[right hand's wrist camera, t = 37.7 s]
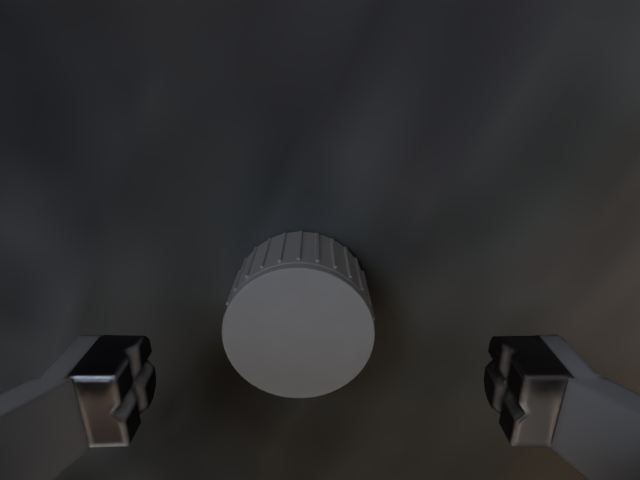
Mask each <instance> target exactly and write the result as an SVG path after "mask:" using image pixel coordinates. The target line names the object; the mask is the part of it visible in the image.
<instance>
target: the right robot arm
mask: <svg viewBox="0 0 640 480" xmlns="http://www.w3.org/2000/svg"><path fill="white" fill-rule="evenodd" d="M151 352H152V350H151V345H150V340H149V339H148V338H147V337H146V336H128V335H82V336H79V337H77V338H76V340H75V341H74V342H73V343H72V344H71V345H70V346H69V347H68V348H67V349H66V350H65V351H64V353H63V354H62V355H61V356H60V357H59V358H58V359H57V360H56V361H55V362H54V363H53V365H52V366H51V367H50V368H49V369H48V370H47V371H46V372H45V373H44V374H43V375H42V377H41V378H33V379H31V380H28V381H26V382H24V383H22V384H20V385H18V386H16V387H14V388H12V389H10V390H8V391H6V392H4V393H2V394H0V480H53V479H54V478H55V477H56V476H58V475H59V474H60V473H61V472H62V471H64V470H65V469H66V468H67V467H68V466H70V465H71V464H72V463H73V462H74V461H76V460H77V459H78V458H79V457H81V456H82V455H83V454H84V453H85V452H87V451H88V450H89V447H110V446H129V445H130V443H131V441H132V439H133V437H134V435H135V433H136V431H137V429H138V427H139V425H140V423H141V420H140V415H139V414H140V413H142V412H143V411H144V410H146V409H147V408H149V406H150V404H151V401H152V399H153V396H154V392H155V387H156V373H155V367H154V366H153V365H152V364H151V363H150V362H149V361H148V360H147V359H148V357H149V355H150V354H151ZM488 352H489V354H490V355H491V357H492V359H493V360H492V361H491V362H490V363H489V364H488V365H487V366H486V367H485V374H484V386H485V393H486V396H487V399H488V401H489V404H490V406H491V408H493V409H494V410H496V411H497V412H498V413H500V414H501V415H500V420H499V423H500V425H501V427H502V429H503V431H504V433H505V435H506V437H507V439H508V441H509V443H510V445H511V446H529V447H551V450H552V451H554V452H555V453H556V454H557V455H558V456H560V457H561V458H562V459H563V460H565V461H566V462H567V463H568V464H569V465H571V466H572V467H573V468H574V469H575V470H577V471H578V472H579V473H580V474H581V475H583V476H584V477H585V478H586V479H587V480H640V394H638V393H636V392H634V391H632V390H630V389H628V388H626V387H624V386H622V385H620V384H618V383H616V382H614V381H612V380H609V379H607V378H599V377H598V375H597V374H596V373H595V372H594V371H593V370H592V369H591V368H590V367H589V366H588V365H587V363H586V362H585V361H584V360H583V359H582V358H581V357H580V356H579V355H578V354H577V353H576V351H575V350H574V349H573V348H572V347H571V346H570V345H569V344H568V343H567V342H566V341H565V339H564V338H563V337H561V336H559V335H535V336H493V337H492V339H491V341H490V344H489V349H488Z"/></svg>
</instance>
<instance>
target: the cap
mask: <svg viewBox="0 0 640 480" xmlns="http://www.w3.org/2000/svg"><path fill="white" fill-rule="evenodd" d="M226 305H228V306H227V309H226V311H225V314H224V317H223V323H222V341H223V345H224V349H225V352H226V354H227V357H228V359H229V360H230V362H231V364H232V365H233V367H234V368H235V369H236V371H237V372H238V373H239V374H240V375H241V376H242V377H243V378H244V379H246V380H247V381H248V382H249V383H251V384H252V385H254V386H256V387H257V388H259V389H261V390H263V391H266V392H268V393H271V394H274V395H278V396H282V397H289V398H309V397H316V396H321V395H324V394H327V393H330V392H333V391H335V390H337V389H339V388H341V387H343V386H344V385H346V384H347V383H349V382H350V381H351V380H352V379H354V378H355V377H356V376H357V375H358V374H359V373H360V371H361V370H362V369H363V368H364V366H365V365H366V363H367V361H368V359H369V358H370V355H371V352H372V350H373V345H374V340H375V327H374V321H375V316H374V312H373V308H372V303H371V299H370V295H369V291H368V286H367V282H366V278H365V274H364V271H363V270H362V271H361V269H360V266H359V264H358V260H357V258H354V257H353V255H352V254H351V253H350V252H349V251H348V249H347V247H346V246H345V247H344V246H342V245H341V244H340V243H338V242H337V241H335V240H334V239H333V238H329V237H326V236H324V235H320V234H319V233H311V232H302V231H299V232H290V233H283V234H281V235H278V236H275V237H273V238H271V239H270V238H268V239H267V241H265V242H263V243H262V244H261V245H259V246H258V247H257V246H256V247H255V248H254V250H253V252H252V253H251V254H250V255H249V257H248V258H245V259H244V262H243V264H242V267H241V270H239V271H238V274H237V276H236V279H235V281H234V284H233V287H232V289H231V292H230V294H229V297H228V300H227V302H226Z"/></svg>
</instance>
